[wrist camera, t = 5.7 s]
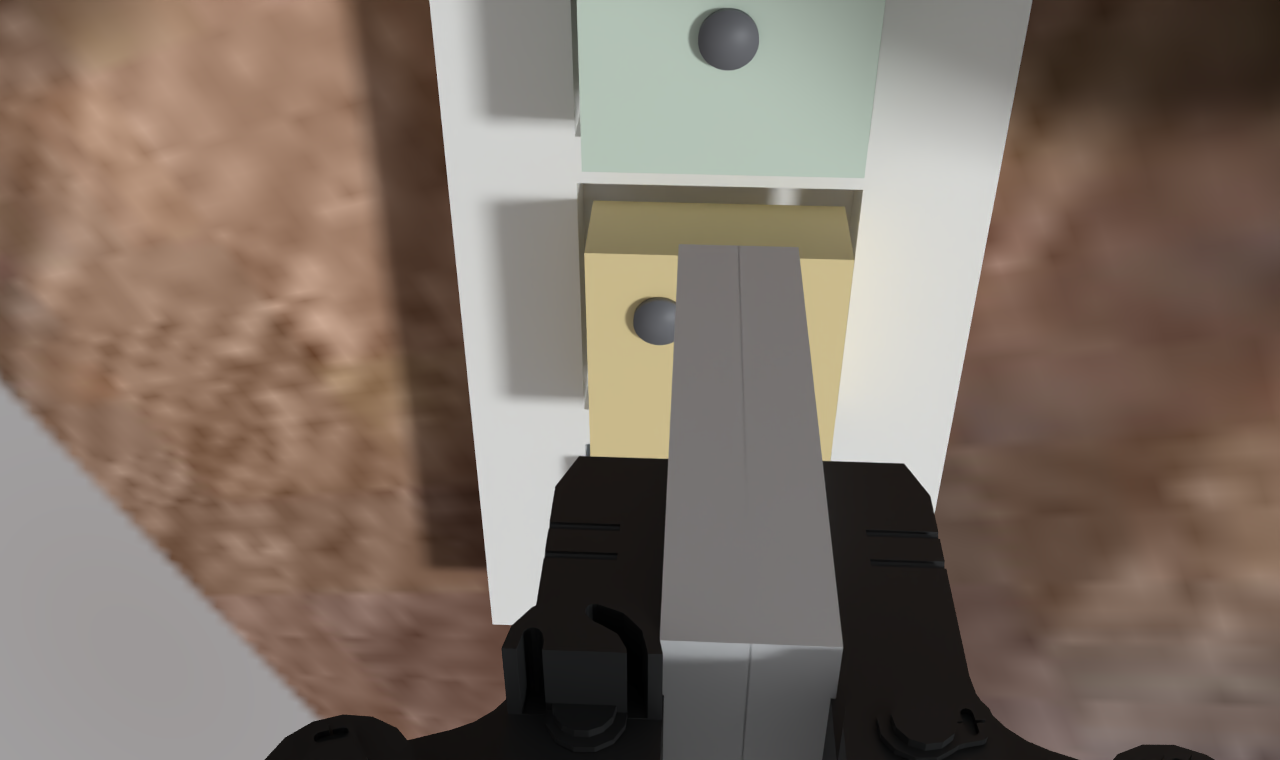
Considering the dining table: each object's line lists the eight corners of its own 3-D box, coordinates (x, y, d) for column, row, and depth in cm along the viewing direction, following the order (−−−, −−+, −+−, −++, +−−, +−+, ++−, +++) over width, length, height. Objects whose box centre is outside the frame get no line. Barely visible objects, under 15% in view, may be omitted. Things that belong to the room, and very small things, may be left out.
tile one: (584, -156, 25) (571, -121, 22) (884, -152, 24) (901, -117, 22) (591, 122, 28) (581, 176, 26) (853, 128, 28) (865, 182, 26)
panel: (431, -236, 26) (408, -212, 24) (1043, -230, 26) (1071, -206, 24) (503, 567, 40) (492, 624, 38) (900, 581, 40) (910, 639, 38)
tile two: (593, 200, 29) (583, 257, 27) (844, 206, 29) (855, 264, 27) (598, 400, 33) (589, 464, 31) (822, 407, 33) (830, 472, 30)
